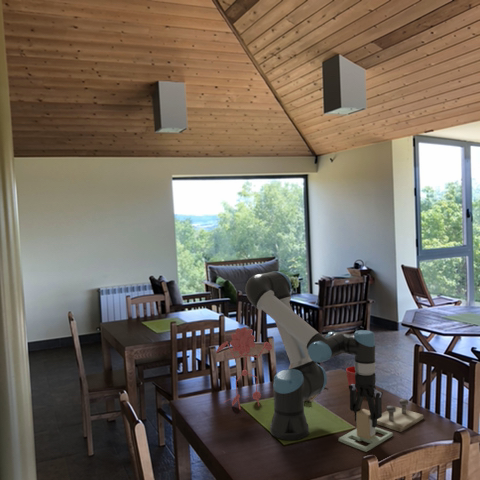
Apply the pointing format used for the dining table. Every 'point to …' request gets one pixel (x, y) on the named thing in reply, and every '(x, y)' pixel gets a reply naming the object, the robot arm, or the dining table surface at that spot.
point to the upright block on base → (364, 433)
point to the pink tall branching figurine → (243, 344)
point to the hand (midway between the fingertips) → (365, 432)
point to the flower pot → (351, 375)
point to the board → (399, 417)
